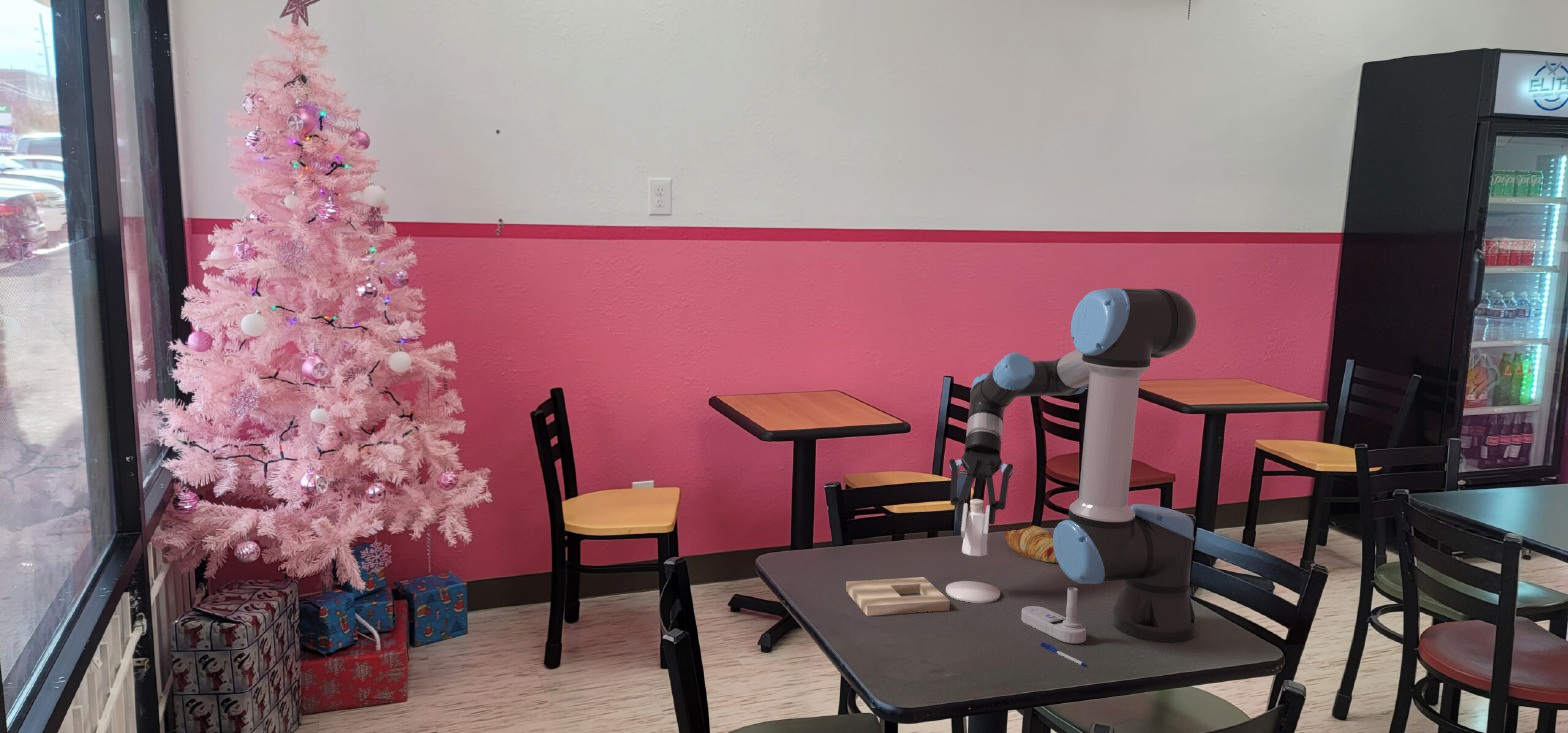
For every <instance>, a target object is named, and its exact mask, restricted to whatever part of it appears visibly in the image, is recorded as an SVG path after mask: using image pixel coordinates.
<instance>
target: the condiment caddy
mask: <svg viewBox="0 0 1568 733" xmlns="http://www.w3.org/2000/svg"><path fill="white" fill-rule="evenodd" d="M845 592H846V593H847V592H848V593H847V594H848V596H850V598H851V599H852V600H853V601H854V603H855V604H856V605H857V606H858V607H859V608H860V609H861V610H862V612H863V613H864V614H865V615H866V616H867V617H872V616H884V615H885V616H888V615H900V614H901V615H903V614H915V613H916V612H918V613H930V612H932V611H933V612H945V611H950V603H951V602H950V600H949V599H948V597H946V596H945V595H944V594H943V593H942V592H941V591H940V590H939V589H937V587H935V586H934V585H933V584H932V583H931V582H930V581H929V580H928V579H927V578H925V577H923V576H920V577H917V576H916V577H905V578H887V579H885V578H884V579H869V580H852V581H851V580H850V581H846V583H845ZM911 594H920V595H911ZM902 595H905V596H902ZM927 611H928V612H927ZM916 614H917V613H916Z"/></svg>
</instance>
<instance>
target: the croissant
mask: <svg viewBox="0 0 1568 733" xmlns="http://www.w3.org/2000/svg"><path fill="white" fill-rule="evenodd" d="M1003 536H1004V539H1005V540H1006V542H1007V545H1008V547H1009V548H1010V549H1011V550H1013V551H1014V552H1015V553H1016V554H1018V555H1020V556H1024V557H1025V558H1027V559H1030V558H1031V560H1036V561H1040V560H1041V561H1042V562H1044V563H1051V564H1054V563H1056V564H1057V565H1059V563H1058V561H1057V559H1056V556H1055V552H1054V547H1053V534H1052V533H1051V531H1050V530H1047V529H1045V528H1044V527H1041V526H1037V525H1034V524H1033V525H1031V526H1028V527H1027V528H1026V527H1025V528H1024V527H1022V528H1021V529H1018V530H1017V529H1012V530H1005V531H1004V533H1003ZM1041 561H1040V562H1041Z"/></svg>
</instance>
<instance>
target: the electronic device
mask: <svg viewBox="0 0 1568 733" xmlns="http://www.w3.org/2000/svg"><path fill="white" fill-rule="evenodd" d="M1078 590H1079V589H1078V588H1076V587H1073V586H1072V587H1071V586H1070V587H1068V588H1067V592H1066V593H1067V596H1066V597H1067V598H1066V606H1065V607H1066V609H1065V615H1066V616H1063V615H1062V614H1059V613H1057V612H1054V611H1053V610H1050V609H1048V608H1045V607H1043V606H1037V605H1029V606H1028V605H1027V606H1025V607H1022V608H1021V615H1020V616H1021V622H1022V621H1023V622H1022V623H1024V624H1025V623H1026V624H1025V625H1027V626H1029V625H1030V627H1031V626H1032V628H1034V629H1035V628H1036V630H1037V631H1039V632H1042V633H1044V634H1046V635H1048V636H1050V637H1052V638H1054V639H1056V640H1058V641H1060V642H1063V643H1067V644H1073V645H1074V644H1082V643H1084V642H1086V640H1087V628H1086V626H1085V625H1083V624H1081V622H1080V621H1079V620H1078V610H1079V609H1078V608H1079V606H1078Z"/></svg>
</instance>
